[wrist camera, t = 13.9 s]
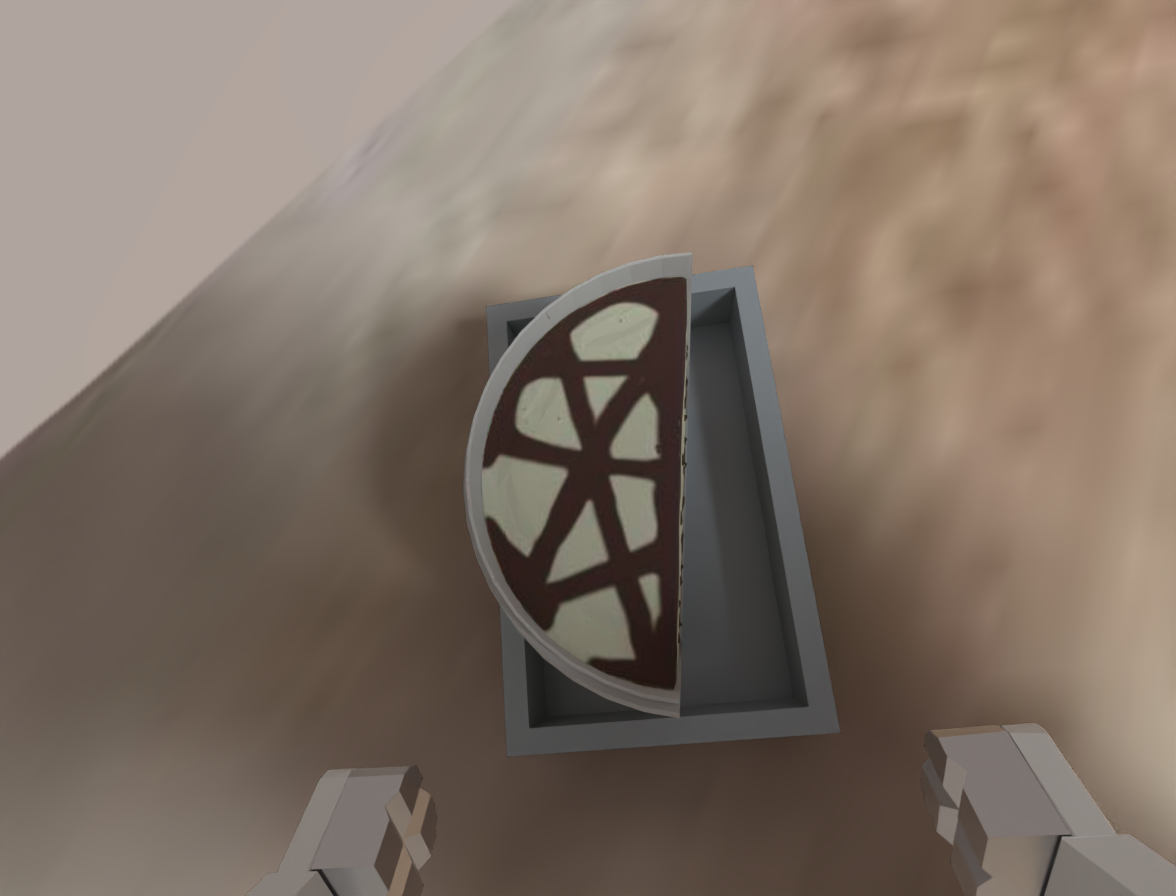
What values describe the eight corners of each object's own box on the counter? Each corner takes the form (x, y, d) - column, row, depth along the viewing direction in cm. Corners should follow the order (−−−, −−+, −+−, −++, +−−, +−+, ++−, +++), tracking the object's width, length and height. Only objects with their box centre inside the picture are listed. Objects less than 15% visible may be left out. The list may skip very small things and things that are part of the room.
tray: (744, 309, 28) (752, 265, 24) (817, 717, 23) (840, 733, 19) (508, 343, 29) (486, 306, 25) (530, 739, 24) (506, 756, 21)
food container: (546, 376, 27) (473, 239, 18) (689, 377, 26) (693, 234, 17) (517, 675, 24) (410, 705, 15) (680, 690, 23) (679, 730, 14)
